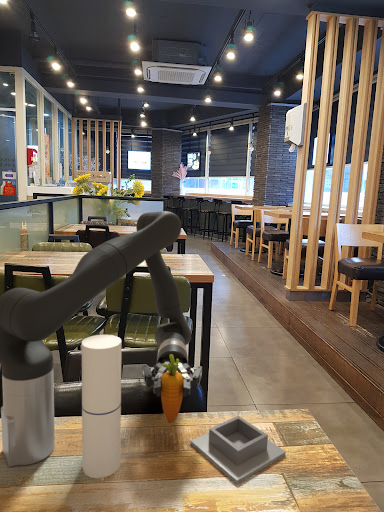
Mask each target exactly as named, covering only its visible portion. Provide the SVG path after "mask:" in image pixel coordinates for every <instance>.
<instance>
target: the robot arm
mask: <svg viewBox="0 0 384 512" xmlns="http://www.w3.org/2000/svg"><path fill="white" fill-rule="evenodd" d="M181 232H182V221H181V219H180V217H179V216H178V214H176V213H173V212H172V211H167V210H164V211H163V210H161V211H150V212H144V213H142V214H141V215H139V217H138V219H137V222H136V230H135V231H133V232H131V233H127V234H123V235H120V236H116V237H114V238H111V239H108V240H107V241H105V242H103V243H100V244H98V245H97V246H96V247H94V248H92V249H91V250H89V251H88V252H86V253H85V254H84V255H83V256H82V257H81V258H80V260H79V261H78V263H77V265H76V266H75V269H74V270H73V272H72V274H71V275H69V276H68V277H67V278H66V279H64V280H63V281H61V282H59V283H58V284H56V285H55V286H53V287H50V288H49V289H46V290H44V291H38V290H34V289H30V288H26V287H14V288H11V289H9V290H7V291H6V292H4V293H3V294H2V295H1V296H0V366H1V376H2V377H1V381H2V382H1V383H2V406H1V407H0V415H1V416H0V419H1V422H0V423H1V440H2V441H1V443H2V445H1V447H2V452H3V455H4V458H5V461H6V463H7V467H8V468H11V467H14V466H27V465H33V464H35V463H36V464H37V463H39V462H41V461H43V460H45V459H46V458H47V457H48V456H49V455H51V454H52V453H53V451H54V449H55V446H56V445H55V438H56V435H55V392H54V389H55V388H54V387H55V385H54V381H55V380H54V377H55V376H54V356H53V353H52V351H51V350H50V349H49V348H48V346H47V345H46V344H45V342H44V340H45V339H47V338H49V337H51V335H52V334H54V333H55V332H57V331H58V330H59V329H60V328H61V327H62V326H64V325H65V324H66V322H68V320H70V319H71V318H72V317H73V316H74V315H75V314H76V313H77V312H79V311H80V310H81V309H82V308H83V307H85V305H87V304H88V303H89V302H91V301H92V300H93V299H95V298H96V297H98V296H99V295H100V294H101V293H103V292H104V291H105V290H107V289H109V288H110V287H111V286H112V285H114V284H116V283H117V282H118V281H120V280H121V279H122V278H124V277H125V276H127V274H129V273H130V272H131V271H132V270H134V269H135V268H137V267H138V266H139V265H141V264H142V263H143V262H145V263H146V267H147V269H148V273H149V276H150V280H151V283H152V289H153V295H154V302H155V305H156V312H157V315H158V317H160V318H162V319H171V320H173V321H175V322H167V323H161V324H159V325H158V326H156V328H155V330H154V340H155V343H156V346H157V347H158V351H157V355H156V364H154V366H153V367H151V366H149V365H148V364H143V365H142V378H143V381H144V384H145V387H147V388H151V387H152V386H153V394H154V395H156V397H157V398H158V397H160V398H161V376H162V374H164V373H165V372H167V371H168V369H167V368H166V367H164V366H162V364H163V363H165V364H167V365H168V363H170V364H171V361H170V357H169V355H170V354H172V355H173V356H174V360H175V363H176V359H179V364H178V368H177V371H176V372H179V373H181V374H182V376H183V379H184V386H183V397H182V398H187V397H188V396H190V395H191V388H193V389H197V388H198V387H199V384H200V382H201V380H202V373H203V367H202V366H201V365H197V366H196V367H194V368H193V367H191V366H190V365H189V357H188V349H187V345H189V343H190V342H191V340H192V332H191V329H190V326H189V324H188V322H187V320H186V317H185V316H184V312H183V309H182V305H181V304H182V303H181V297H180V290H179V286H178V283H177V280H176V279H175V277H174V276H173V274H172V272H171V270H170V269H169V268H168V266H167V264H166V263H165V259H164V258H163V255H162V252H161V250H164V249H166V248H167V247H169V246H171V245H173V244H175V242H176V241H177V240H178V239H179V237H180V235H181ZM171 366H172V365H171ZM153 374H154V375H155V376H153ZM190 375H192V377H191V376H190Z"/></svg>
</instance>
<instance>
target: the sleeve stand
mask: <svg viewBox="0 0 384 512" xmlns="http://www.w3.org/2000/svg"><path fill="white" fill-rule="evenodd" d="M190 446H192V447H193V448H195V450H197V451H198V452H199V453H201V454H202V456H204V457H205V459H207V460H208V461H209V462H210V463H211V464H213V465H214V466H215V467H216V468H217V469H219V470H220V471H221V472H222V473H223V474H224V475H226V477H228V478H229V479H230V480H231V481H232V482H233V483H234V484H235V485H239V484H240V483H242V482H244V481H246V480H247V479H248V478H250V477H252V476H253V475H255V474H257V473H259V472H260V471H262V470H264V469H265V468H267V467H268V466H270V465H272V464H274V463H275V462H277V461H278V460H280V459H281V458H283V457H285V456H286V454H287V453H286V450H284V449H283V448H282V447H280V446H279V445H277V444H276V443H273V442H272V441H271V440H269V435H268V434H267V433H265V432H264V431H262V430H260V428H258V427H256V426H255V425H253V424H252V423H251V422H249V421H247V420H245V419H244V418H242V417H241V416H239V415H237V416H234V417H233V418H230V419H228V420H225V421H223V422H221V423H219V424H216V425H215V426H212V427H210V428H209V430H208V432H207V433H205V434H202V435H200V436H198V437H196V438H194V439H190Z"/></svg>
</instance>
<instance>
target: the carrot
mask: <svg viewBox="0 0 384 512" xmlns="http://www.w3.org/2000/svg"><path fill="white" fill-rule="evenodd" d="M169 357H170V361H171V364H170V363H168V365H167V364H165V363H163V364H162V366H164V367H166V368H167V369H168V371H167V372H165V373H164V374H162V376H161V391H160V398H161V399H160V400H161V406H162V411H163V414H164V417H165V420H166V421H167V423H168V424H169V425H172V424H174V422H175V421H176V419H177V417H178V415H179V414H180V410H181V406H182V402H183V398H184V397H183V386H184V379H183V376H182V374H181V373H179V372H176V371H177V368H178V364H179V359H176V363H175V360H174V356H173V355H172V354H170V355H169ZM171 365H172V366H171Z"/></svg>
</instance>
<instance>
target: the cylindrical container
mask: <svg viewBox="0 0 384 512" xmlns="http://www.w3.org/2000/svg"><path fill="white" fill-rule="evenodd" d="M121 413H122V339H121V338H120V337H118V336H117V335H112V334H95V335H91V336H88V337H86V338H84V339H83V340H82V341H81V417H82V418H81V429H82V430H81V433H82V434H81V437H82V438H81V439H82V440H81V441H82V442H81V443H82V446H81V450H82V451H81V453H82V455H81V457H82V461H81V462H82V463H81V464H82V472H83V473H84V474H85V475H86V476H87V477H90V478H94V479H103V478H107V477H109V476H111V475H114V474H115V473H116V472H117V471H118V470H119V469H120V466H121V431H122V430H121V429H122V428H121V427H122V426H121V425H122V424H121V423H122V416H121V415H122V414H121Z"/></svg>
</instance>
